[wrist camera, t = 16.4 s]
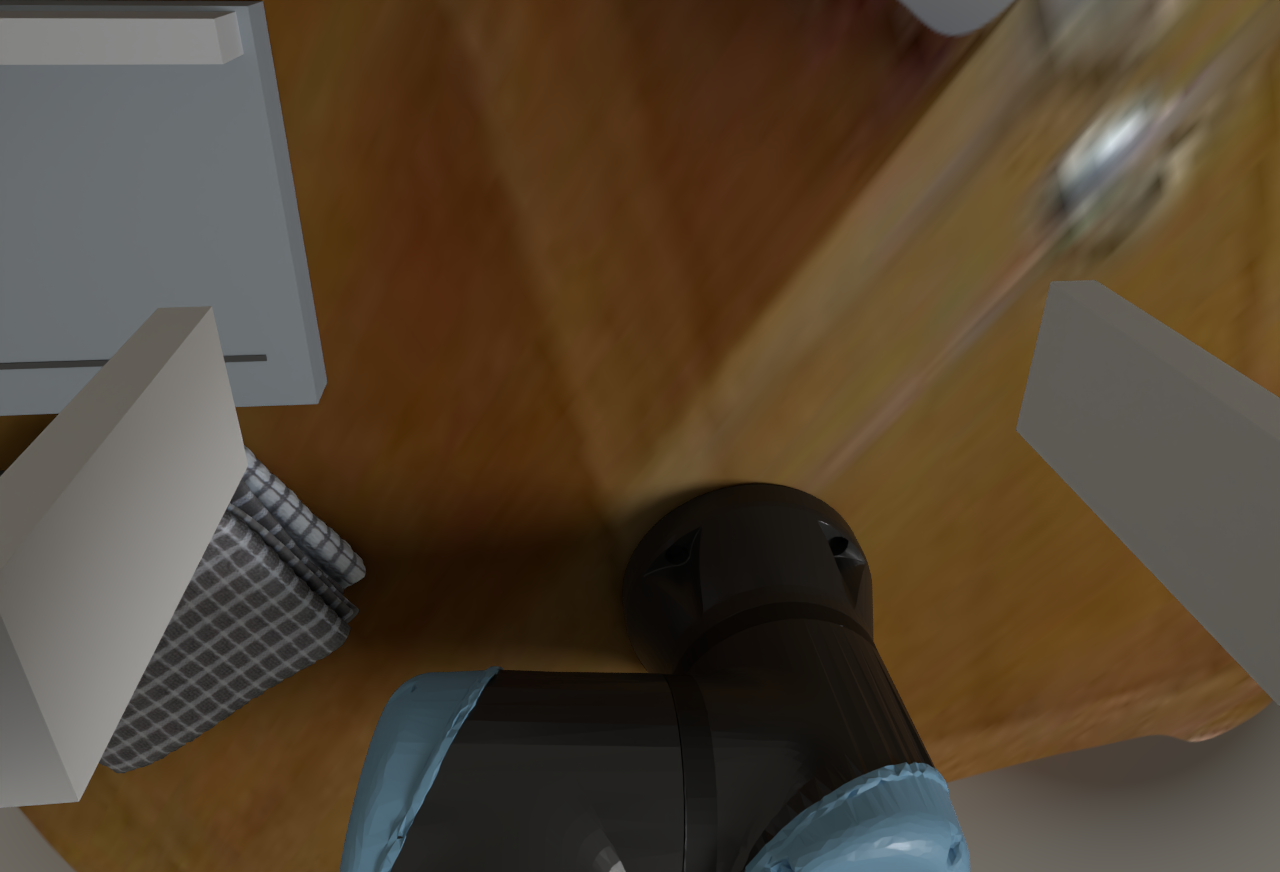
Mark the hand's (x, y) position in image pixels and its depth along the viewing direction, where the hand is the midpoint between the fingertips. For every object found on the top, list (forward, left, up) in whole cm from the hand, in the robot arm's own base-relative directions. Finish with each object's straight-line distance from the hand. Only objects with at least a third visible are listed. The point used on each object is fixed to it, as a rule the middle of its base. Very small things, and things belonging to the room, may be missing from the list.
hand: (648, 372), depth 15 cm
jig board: (-6, +26, -32) cm, 41 cm away
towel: (-26, +23, -32) cm, 47 cm away
